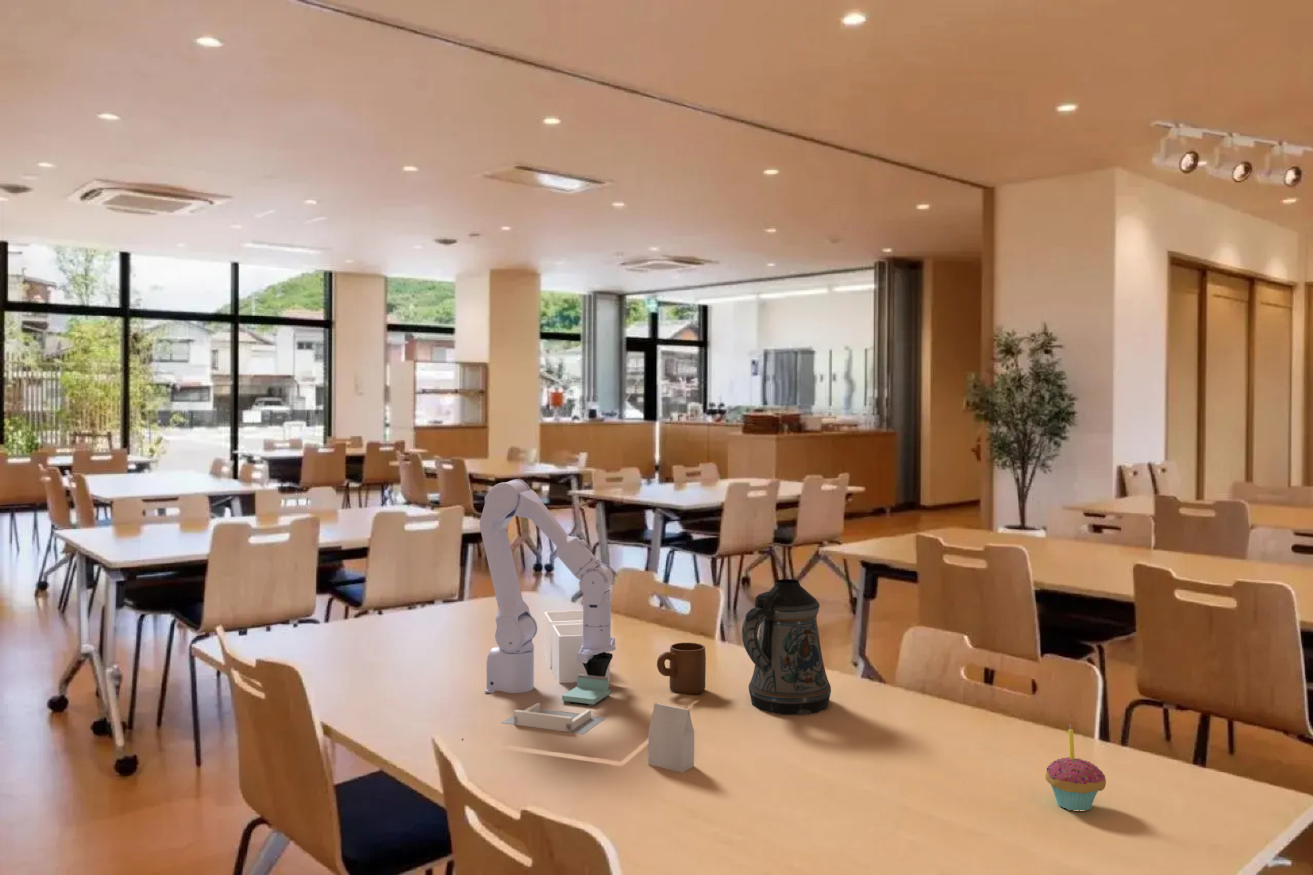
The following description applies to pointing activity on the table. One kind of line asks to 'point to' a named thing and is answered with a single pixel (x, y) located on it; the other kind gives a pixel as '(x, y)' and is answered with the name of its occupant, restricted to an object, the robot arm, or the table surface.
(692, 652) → the mug
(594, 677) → the trolley
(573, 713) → the ramp plate
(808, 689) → the beer stein
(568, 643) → the storage container
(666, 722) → the light grey paper bag
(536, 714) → the dock
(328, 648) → the table surface
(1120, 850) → the table surface
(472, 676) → the table surface
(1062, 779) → the cupcake
